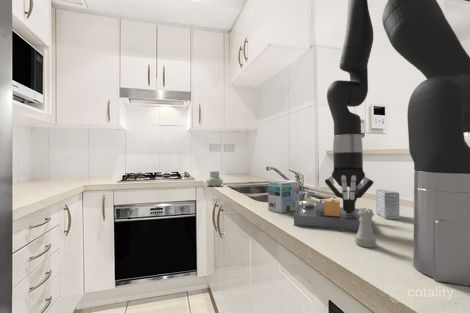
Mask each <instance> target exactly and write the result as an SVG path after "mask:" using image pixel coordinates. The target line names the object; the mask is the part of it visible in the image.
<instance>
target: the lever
mask: <svg viewBox="0 0 470 313" xmlns="http://www.w3.org/2000/svg"><path fill="white" fill-rule="evenodd" d="M363 185H364V184H363V182H362V181H361V182H360V183H359V185H358V186H357V187H355V193H357V192H358V191H359V190H360V188H361V187H362V186H363ZM357 200H358V198H356V199H355V200H354V204H355V205H356V203H357Z"/></svg>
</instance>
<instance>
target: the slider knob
mask: <svg viewBox="0 0 470 313" xmlns="http://www.w3.org/2000/svg"><path fill="white" fill-rule="evenodd" d="M323 200H324V215H327V216H339V217H340V207H341V206H340V204H341V201H340V200H339V199H334V197H330V198H324V199H323Z"/></svg>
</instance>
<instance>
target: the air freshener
mask: <svg viewBox="0 0 470 313" xmlns="http://www.w3.org/2000/svg"><path fill="white" fill-rule="evenodd" d="M205 182H206V185H208V186H209V187H213V186H216V187H220V186H221V185H222V184H223V179H222V178H221V177H220V171H219V170H211V171H210V173H209V177H208V178H206V181H205Z"/></svg>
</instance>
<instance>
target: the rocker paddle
mask: <svg viewBox="0 0 470 313" xmlns="http://www.w3.org/2000/svg"><path fill="white" fill-rule="evenodd" d="M303 200H304V201H310V202H313V203H314V205H316V202H324V201H322V200H323V199H322V200H319V198H317V197H313V196H312V195H311V194H305V195H304V197H303Z"/></svg>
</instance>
